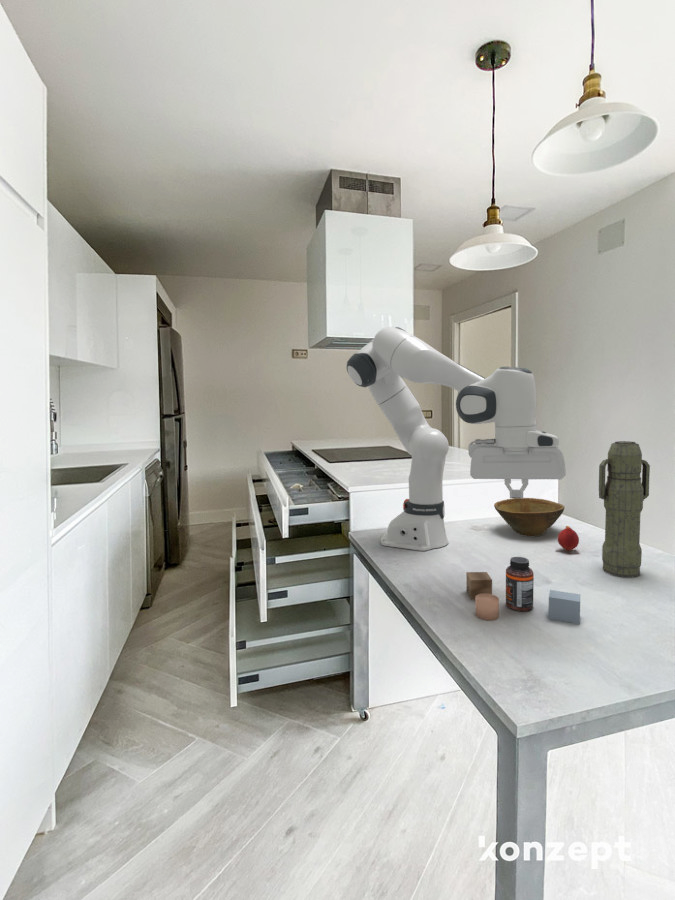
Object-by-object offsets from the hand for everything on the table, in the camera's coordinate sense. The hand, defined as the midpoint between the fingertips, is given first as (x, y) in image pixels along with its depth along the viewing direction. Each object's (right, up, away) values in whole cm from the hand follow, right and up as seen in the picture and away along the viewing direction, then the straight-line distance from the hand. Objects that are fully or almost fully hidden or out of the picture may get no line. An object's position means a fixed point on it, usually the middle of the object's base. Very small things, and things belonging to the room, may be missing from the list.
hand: (516, 497), depth 105 cm
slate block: (+8, -26, -5) cm, 27 cm away
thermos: (+35, -22, +18) cm, 45 cm away
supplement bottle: (+1, -25, 0) cm, 25 cm away
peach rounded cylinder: (-8, -26, -3) cm, 27 cm away
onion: (+29, -20, +35) cm, 50 cm away
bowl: (+26, -18, +55) cm, 63 cm away
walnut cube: (-6, -25, +7) cm, 27 cm away
